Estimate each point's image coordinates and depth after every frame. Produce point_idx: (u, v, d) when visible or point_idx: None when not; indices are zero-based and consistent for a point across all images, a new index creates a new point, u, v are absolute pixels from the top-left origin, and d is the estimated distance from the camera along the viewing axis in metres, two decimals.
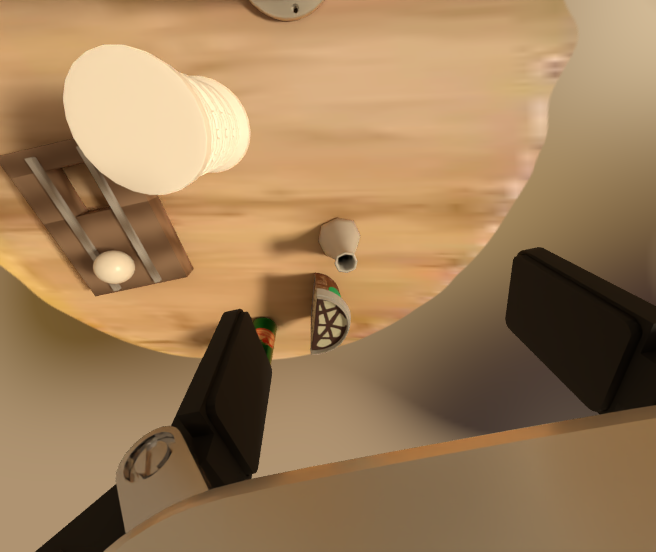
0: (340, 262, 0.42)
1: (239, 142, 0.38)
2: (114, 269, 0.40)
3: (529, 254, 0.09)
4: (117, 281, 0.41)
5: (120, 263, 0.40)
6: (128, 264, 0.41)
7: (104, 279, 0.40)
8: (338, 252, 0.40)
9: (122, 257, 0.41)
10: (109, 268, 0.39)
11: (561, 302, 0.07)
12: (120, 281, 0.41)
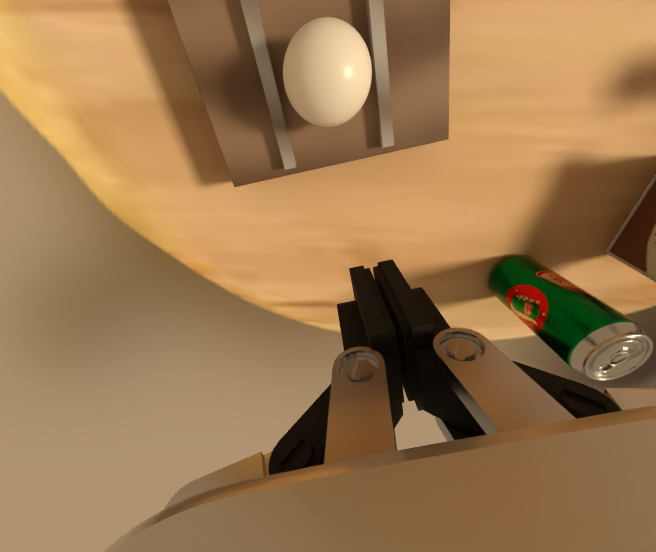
0: None
1: None
2: (357, 56, 0.14)
3: (380, 266, 0.10)
4: (345, 106, 0.15)
5: (364, 47, 0.14)
6: None
7: (322, 90, 0.14)
8: None
9: (361, 37, 0.15)
10: (347, 49, 0.13)
11: (388, 308, 0.09)
12: (348, 110, 0.15)
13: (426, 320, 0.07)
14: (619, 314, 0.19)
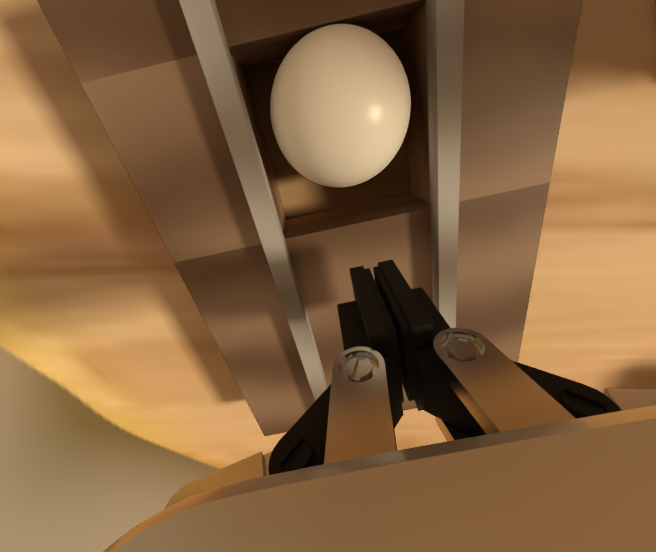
0: None
1: None
2: (390, 157, 0.10)
3: (380, 266, 0.10)
4: None
5: (405, 125, 0.09)
6: None
7: (336, 186, 0.11)
8: None
9: (406, 89, 0.09)
10: (378, 161, 0.09)
11: (388, 308, 0.09)
12: None
13: (426, 320, 0.07)
14: None
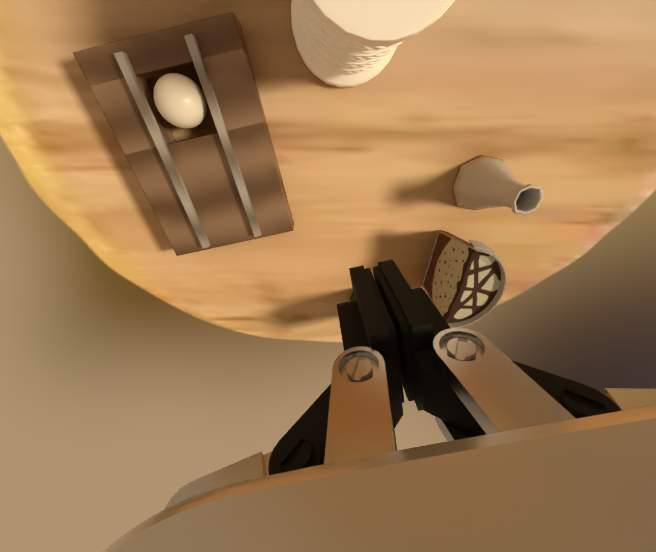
0: (504, 205, 0.32)
1: None
2: (197, 117, 0.29)
3: (380, 266, 0.10)
4: None
5: (198, 107, 0.29)
6: (203, 100, 0.29)
7: (185, 128, 0.31)
8: (513, 188, 0.30)
9: (194, 95, 0.28)
10: (191, 119, 0.29)
11: (388, 308, 0.09)
12: None
13: (426, 320, 0.07)
14: None
